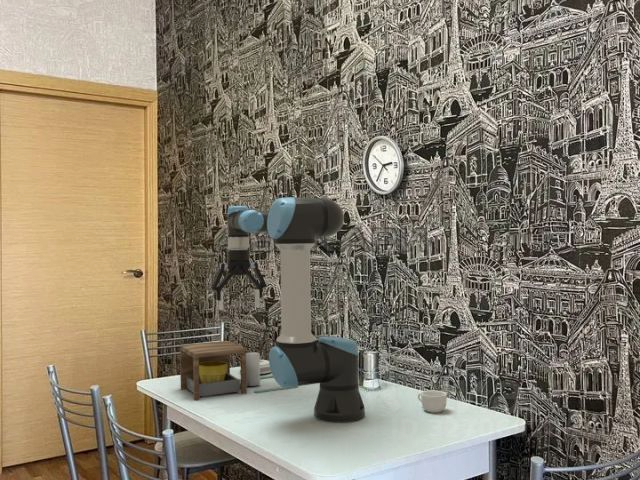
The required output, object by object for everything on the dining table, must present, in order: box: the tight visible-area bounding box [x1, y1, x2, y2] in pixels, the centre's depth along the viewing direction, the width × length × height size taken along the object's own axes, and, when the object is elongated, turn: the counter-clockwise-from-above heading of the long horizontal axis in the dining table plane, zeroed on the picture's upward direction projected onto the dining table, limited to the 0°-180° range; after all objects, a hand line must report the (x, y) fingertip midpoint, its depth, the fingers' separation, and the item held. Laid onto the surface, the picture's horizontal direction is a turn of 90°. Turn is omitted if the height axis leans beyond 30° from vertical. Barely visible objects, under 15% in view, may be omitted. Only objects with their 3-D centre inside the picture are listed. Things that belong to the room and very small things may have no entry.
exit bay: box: [238, 374, 299, 394], centre depth 229 cm, size 21×16×1 cm
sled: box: [186, 351, 261, 398], centre depth 222 cm, size 15×25×11 cm, turn 117°
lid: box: [239, 359, 272, 375], centre depth 248 cm, size 13×13×5 cm
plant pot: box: [199, 361, 227, 384], centre depth 219 cm, size 10×10×10 cm
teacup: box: [417, 389, 448, 414], centre depth 192 cm, size 10×8×5 cm
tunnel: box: [179, 340, 248, 401], centre depth 219 cm, size 18×18×16 cm
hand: (239, 308), depth 225 cm, fingers open, 13 cm apart
